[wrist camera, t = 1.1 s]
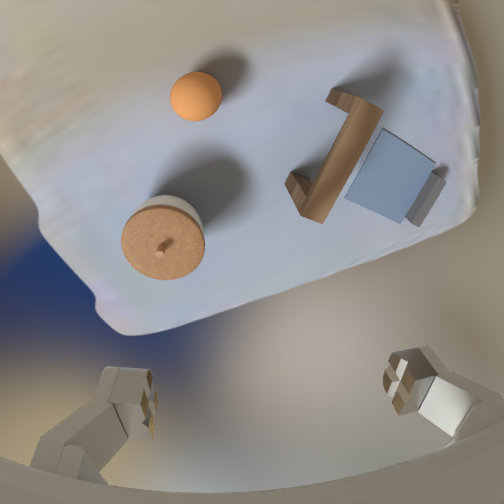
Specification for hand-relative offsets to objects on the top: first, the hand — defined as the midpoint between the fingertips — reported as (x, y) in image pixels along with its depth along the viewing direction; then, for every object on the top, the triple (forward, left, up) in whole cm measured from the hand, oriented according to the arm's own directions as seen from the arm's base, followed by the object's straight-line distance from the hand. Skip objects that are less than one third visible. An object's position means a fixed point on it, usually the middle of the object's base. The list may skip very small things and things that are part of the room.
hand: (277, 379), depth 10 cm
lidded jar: (+15, -4, -36) cm, 39 cm away
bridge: (-3, +11, -36) cm, 37 cm away
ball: (-3, -6, -33) cm, 33 cm away
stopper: (-3, +32, -36) cm, 48 cm away
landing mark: (-3, +25, -36) cm, 44 cm away
